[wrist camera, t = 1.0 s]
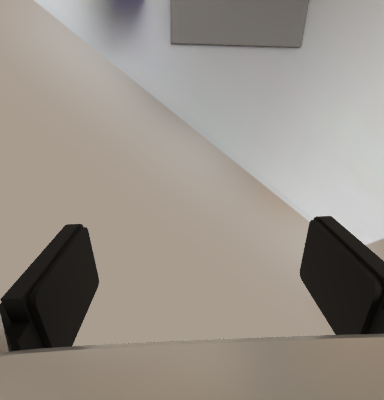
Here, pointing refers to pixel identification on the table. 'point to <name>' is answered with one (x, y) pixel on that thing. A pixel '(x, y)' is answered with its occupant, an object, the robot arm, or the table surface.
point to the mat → (238, 22)
